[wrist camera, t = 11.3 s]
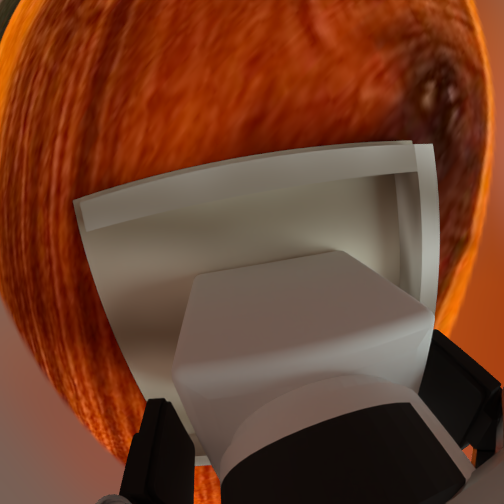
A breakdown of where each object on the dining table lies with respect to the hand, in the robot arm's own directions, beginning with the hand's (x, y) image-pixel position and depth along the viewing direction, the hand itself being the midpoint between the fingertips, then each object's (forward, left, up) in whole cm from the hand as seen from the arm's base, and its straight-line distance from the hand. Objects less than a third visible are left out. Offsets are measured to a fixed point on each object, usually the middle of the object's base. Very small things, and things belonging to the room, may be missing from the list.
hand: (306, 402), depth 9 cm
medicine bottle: (0, 0, -6) cm, 6 cm away
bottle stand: (0, 0, -6) cm, 6 cm away
